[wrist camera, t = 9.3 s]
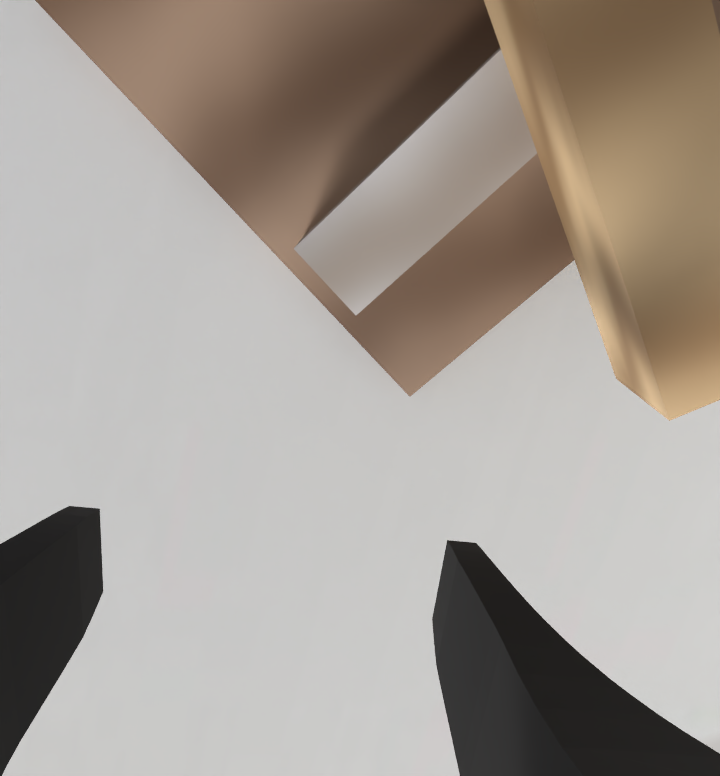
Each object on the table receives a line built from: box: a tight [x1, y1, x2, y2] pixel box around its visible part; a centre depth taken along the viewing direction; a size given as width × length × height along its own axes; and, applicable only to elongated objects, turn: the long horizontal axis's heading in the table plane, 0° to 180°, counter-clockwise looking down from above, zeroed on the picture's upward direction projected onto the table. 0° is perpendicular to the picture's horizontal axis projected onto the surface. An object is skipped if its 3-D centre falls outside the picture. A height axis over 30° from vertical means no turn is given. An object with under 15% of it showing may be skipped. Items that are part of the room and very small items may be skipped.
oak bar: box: [484, 0, 720, 421], centre depth 13 cm, size 16×3×3 cm, turn 26°
